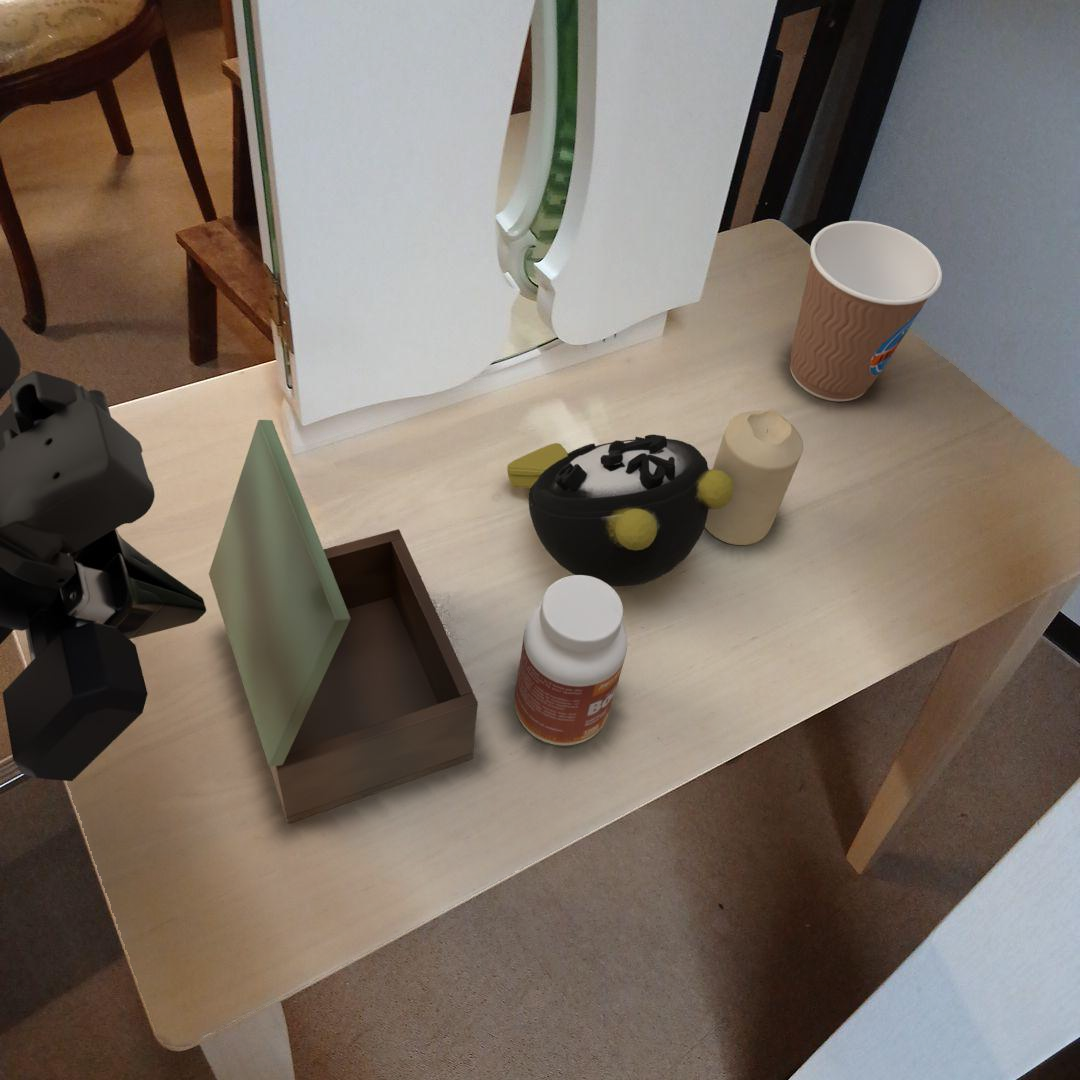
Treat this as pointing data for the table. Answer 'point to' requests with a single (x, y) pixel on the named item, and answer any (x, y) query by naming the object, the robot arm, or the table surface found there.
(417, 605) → the chest
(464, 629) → the table surface
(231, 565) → the lid
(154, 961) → the table surface
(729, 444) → the candle
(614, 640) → the pill bottle
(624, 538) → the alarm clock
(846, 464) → the table surface
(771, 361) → the table surface
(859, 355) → the coffee cup
